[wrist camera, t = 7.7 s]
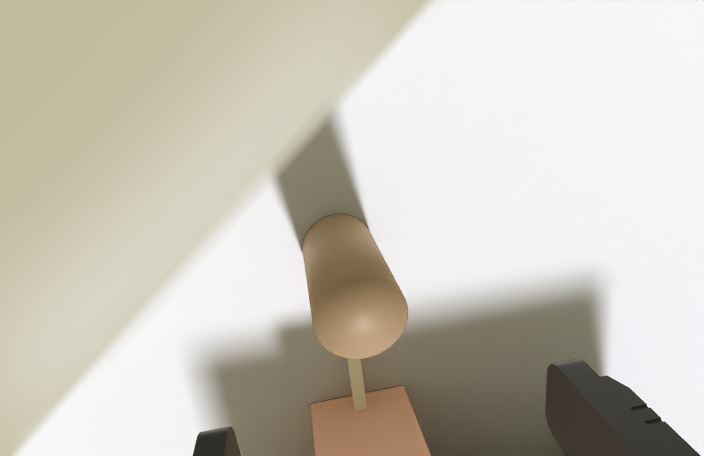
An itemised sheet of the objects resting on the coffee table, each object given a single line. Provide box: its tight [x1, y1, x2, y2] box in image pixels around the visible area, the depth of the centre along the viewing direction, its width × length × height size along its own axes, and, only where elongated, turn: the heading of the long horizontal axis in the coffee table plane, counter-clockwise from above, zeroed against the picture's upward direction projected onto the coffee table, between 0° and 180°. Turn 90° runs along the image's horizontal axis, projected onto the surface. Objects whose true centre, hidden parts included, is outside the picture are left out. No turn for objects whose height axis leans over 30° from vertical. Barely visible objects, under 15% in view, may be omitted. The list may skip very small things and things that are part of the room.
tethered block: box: [303, 214, 431, 456], centre depth 20 cm, size 5×15×6 cm, turn 6°
